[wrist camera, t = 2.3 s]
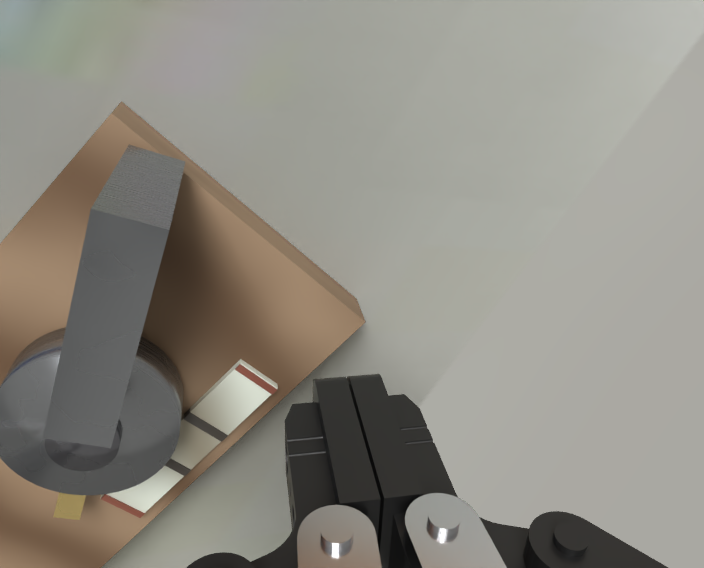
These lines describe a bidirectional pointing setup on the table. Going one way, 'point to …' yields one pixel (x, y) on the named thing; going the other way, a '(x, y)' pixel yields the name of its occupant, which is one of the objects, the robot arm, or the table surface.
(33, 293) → the stand
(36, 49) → the table surface
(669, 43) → the table surface
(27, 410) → the lever
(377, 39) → the table surface
